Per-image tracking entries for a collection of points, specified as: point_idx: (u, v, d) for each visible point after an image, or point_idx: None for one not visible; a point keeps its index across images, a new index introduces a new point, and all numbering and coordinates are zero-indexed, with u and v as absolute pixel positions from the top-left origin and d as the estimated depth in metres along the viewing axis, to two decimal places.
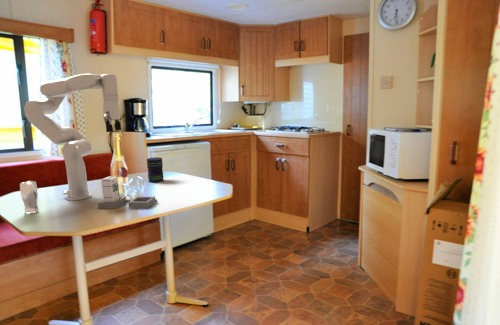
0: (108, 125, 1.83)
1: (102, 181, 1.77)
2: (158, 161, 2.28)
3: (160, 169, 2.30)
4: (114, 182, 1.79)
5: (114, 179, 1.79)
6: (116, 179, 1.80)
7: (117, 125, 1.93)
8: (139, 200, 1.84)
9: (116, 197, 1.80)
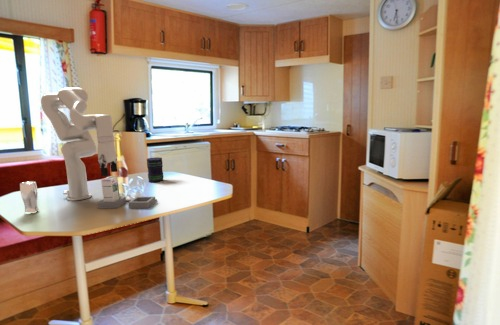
0: (103, 169, 1.72)
1: (102, 181, 1.77)
2: (158, 161, 2.28)
3: (160, 169, 2.30)
4: (114, 182, 1.79)
5: (114, 179, 1.79)
6: (116, 179, 1.80)
7: (113, 167, 1.82)
8: (139, 200, 1.84)
9: (116, 197, 1.80)
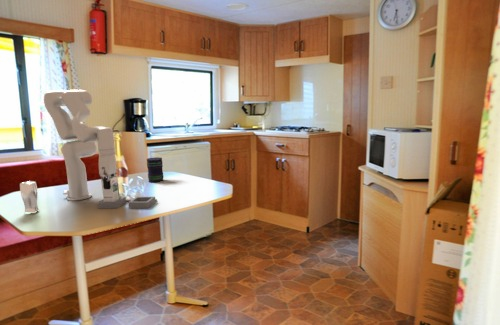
0: (105, 182, 1.75)
1: (102, 181, 1.77)
2: (158, 161, 2.28)
3: (160, 169, 2.30)
4: (114, 182, 1.79)
5: (114, 179, 1.79)
6: (116, 179, 1.80)
7: None
8: (139, 200, 1.84)
9: (116, 197, 1.80)
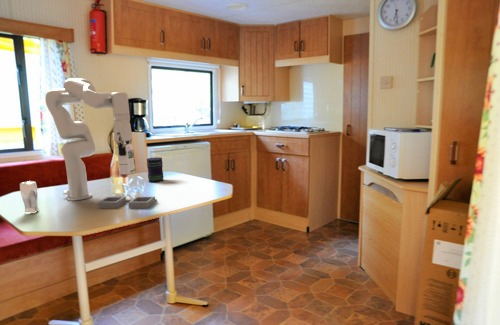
0: (121, 148, 1.71)
1: (117, 148, 1.73)
2: (158, 161, 2.28)
3: (160, 169, 2.30)
4: (130, 149, 1.75)
5: (129, 146, 1.75)
6: (131, 146, 1.76)
7: None
8: (139, 200, 1.84)
9: (132, 165, 1.76)
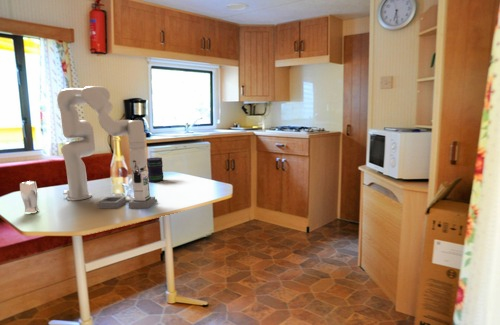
0: (136, 176, 1.73)
1: (132, 175, 1.75)
2: (158, 161, 2.28)
3: (160, 169, 2.30)
4: (144, 175, 1.77)
5: (144, 173, 1.77)
6: (146, 173, 1.78)
7: None
8: None
9: (146, 191, 1.78)
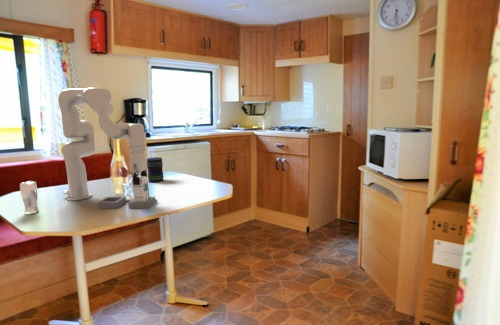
0: (135, 178, 1.72)
1: None
2: (158, 161, 2.28)
3: (160, 169, 2.30)
4: (145, 182, 1.77)
5: (145, 179, 1.77)
6: (146, 179, 1.79)
7: (143, 175, 1.82)
8: None
9: (146, 197, 1.79)
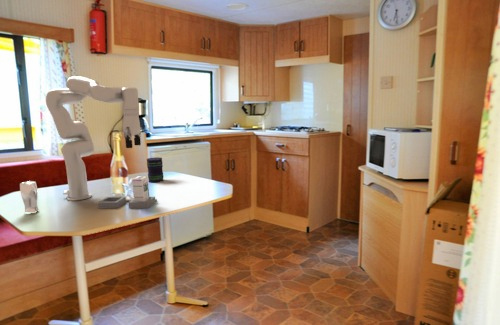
0: (128, 141, 1.74)
1: (133, 181, 1.75)
2: (158, 161, 2.28)
3: (160, 169, 2.30)
4: (145, 182, 1.77)
5: (145, 179, 1.77)
6: (146, 179, 1.79)
7: (137, 140, 1.84)
8: None
9: (146, 197, 1.79)
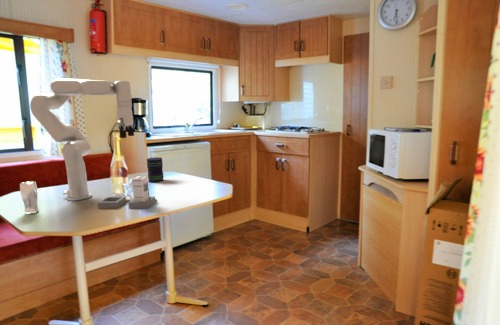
0: (122, 131, 1.85)
1: (133, 181, 1.75)
2: (158, 161, 2.28)
3: (160, 169, 2.30)
4: (145, 182, 1.77)
5: (145, 179, 1.77)
6: (146, 179, 1.79)
7: (130, 131, 1.95)
8: None
9: (146, 197, 1.79)
